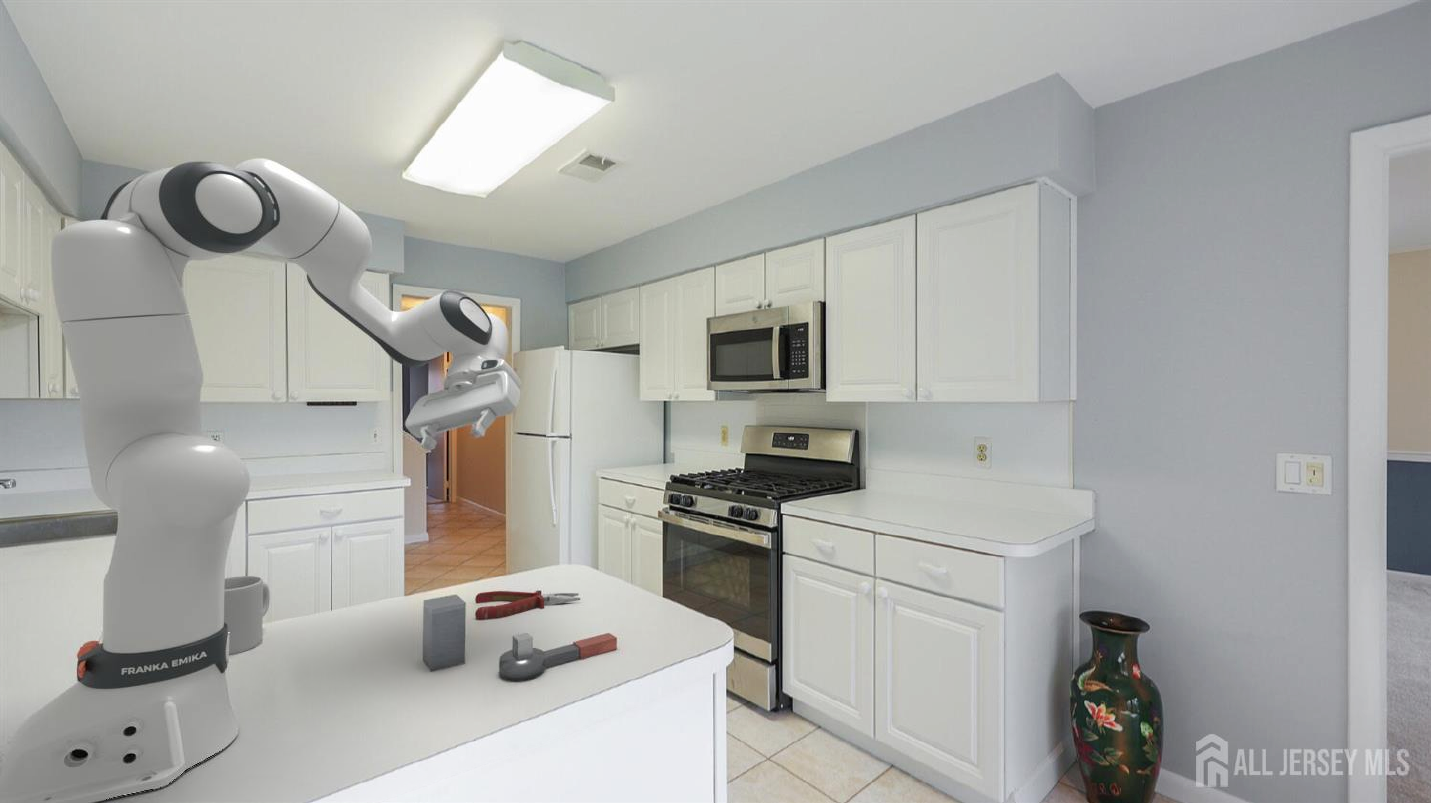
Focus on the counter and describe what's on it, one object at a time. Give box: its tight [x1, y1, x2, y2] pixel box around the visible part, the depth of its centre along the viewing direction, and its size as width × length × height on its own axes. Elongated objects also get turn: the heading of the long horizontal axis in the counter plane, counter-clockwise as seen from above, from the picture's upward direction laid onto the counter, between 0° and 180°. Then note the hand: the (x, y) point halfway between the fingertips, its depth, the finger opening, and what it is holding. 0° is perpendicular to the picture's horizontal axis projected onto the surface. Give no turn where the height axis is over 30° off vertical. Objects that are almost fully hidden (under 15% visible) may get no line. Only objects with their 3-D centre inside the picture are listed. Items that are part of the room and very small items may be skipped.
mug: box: [224, 575, 271, 656], centre depth 107 cm, size 12×8×11 cm
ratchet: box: [498, 632, 618, 682], centre depth 102 cm, size 20×7×6 cm, turn 129°
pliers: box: [474, 589, 581, 621], centre depth 129 cm, size 12×21×3 cm, turn 111°
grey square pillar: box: [422, 594, 467, 672], centre depth 101 cm, size 5×5×10 cm
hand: (451, 441), depth 101 cm, fingers open, 8 cm apart
